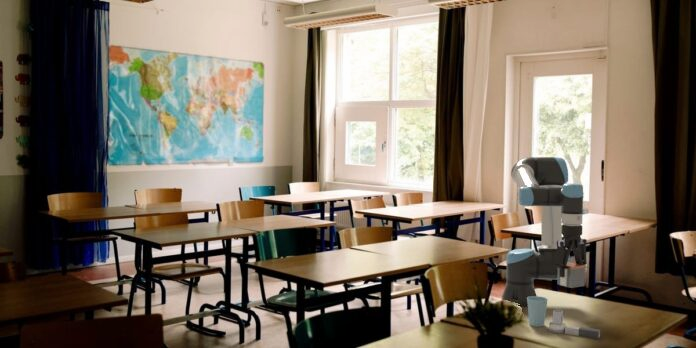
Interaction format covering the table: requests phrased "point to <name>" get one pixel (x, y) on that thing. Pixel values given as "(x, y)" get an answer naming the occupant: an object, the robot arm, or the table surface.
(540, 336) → the table surface
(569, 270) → the red-topped grey block
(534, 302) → the cup
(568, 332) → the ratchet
